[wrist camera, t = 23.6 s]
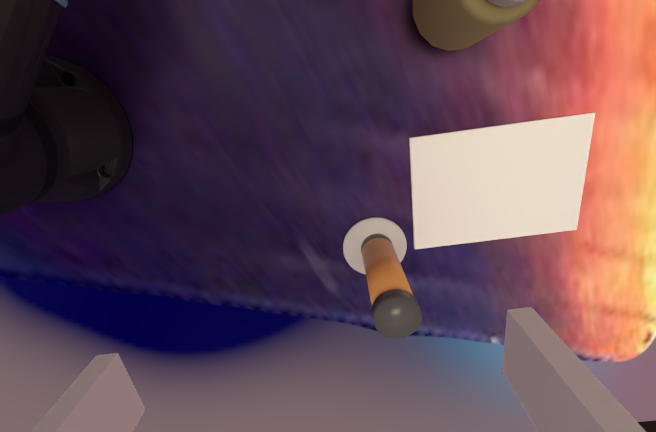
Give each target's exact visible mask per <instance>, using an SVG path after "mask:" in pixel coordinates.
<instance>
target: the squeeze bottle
mask: <svg viewBox="0 0 656 432" xmlns="http://www.w3.org/2000/svg"><path fill="white" fill-rule="evenodd" d="M538 1H539V0H413V18H414V20H415V23H416V25H417V28H418V30H419V33H420V35H422V36H423V37H424V38H425V39H426V40H427V41H428V42H429V43H430V44H431V45H432V46H434V47H437V48H440V49H444V50H447V51H453V50H460V49H466V48H468V47H470V46H471V45H473V44H475V43H477V42H479V41H480V40H482V39H484V38H486V37H488V36H489V35H491V34H493V33H495V32H496V31H498V30H500V29H502V28H504V27H505V26H507V25H509V24H511V23H512V22H514V21H516V20H517V19H519V18H521V17H523V16H524V15H526V14H528V13H529V12H530V11H531V9H532V8H533V7H534V6H535V5H536V4H537V2H538Z"/></svg>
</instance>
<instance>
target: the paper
mask: <svg viewBox="0 0 656 432" xmlns="http://www.w3.org/2000/svg"><path fill="white" fill-rule="evenodd" d="M594 118H595V113H594V112H591V113H584V114H577V115H570V116H563V117H555V118H548V119H541V120H534V121H527V122H519V123H512V124H505V125H498V126H491V127H483V128H476V129H469V130H462V131H455V132H447V133H440V134H433V135H426V136H418V137H411V138H409V150H410V172H411V195H412V217H413V240H414V249H422V248H430V247H438V246H447V245H455V244H463V243H471V242H480V241H488V240H496V239H504V238H512V237H521V236H529V235H537V234H545V233H554V232H562V231H570V230H577V224H578V218H579V212H580V205H581V199H582V193H583V187H584V181H585V174H586V168H587V162H588V156H589V149H590V143H591V137H592V131H593V124H594Z"/></svg>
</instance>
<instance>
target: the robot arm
mask: <svg viewBox="0 0 656 432" xmlns="http://www.w3.org/2000/svg"><path fill="white" fill-rule="evenodd" d="M67 4H68V0H0V216H3V215H5V214H8V213H10V212H13V211H15V210H18V209H20V208H22V207H25V206H27V205H30V204H32V203H46V202H72V201H80V200H85V199H88V198H91V197H94V196H96V195H98V194H101V193H103V192H105V191H107V190H109V189H111V188H112V187H114V186H115V185H116V184H117V183H118V182H119V181H120V180H121V179H122V178H123V177H124V175H125V174H126V172H127V170H128V168H129V165H130V162H131V158H132V151H133V141H132V134H131V129H130V125H129V122H128V120H127V117H126V115H125V113H124V111H123V109H122V107H121V105H120V104H119V102H118V100H117V99H116V98H115V96H114V95H113V94H112V92H111V91H110V90H109V89H108V88H107V87H106V86H105V85H104V84H103V83H102V82H101V81H100V80H99V79H98V78H97V77H95V76H94V75H93V74H92V73H90V72H89V71H87V70H86V69H84V68H82V67H80V66H79V65H77V64H75V63H72V62H70V61H67V60H64V59H61V58H57V57H52V56H45V54H46V52H47V49H48V46H49V43H50V41H51V38H52V35H53V33H54V30H55V27H56V24H57V22H58V19H59V16H60V13H61V11H62V8H63V7H65V8H66V7H67ZM502 374H503V375H504V377H505V379H506V380H507V382H508V384H509V385H510V387H511V389H512V390H513V392H514V394H515V395H516V397H517V398H518V400H519V402H520V403H521V405H522V407H523V408H524V410H525V412H526V413H527V415H528V417H529V418H530V420H531V422H532V423H533V425H534V426H535V428H536V430H537V431H538V432H656V421H646V422H637V421H636V420H635V419H633V417H632V416H631V415H630V414H629V413H628V411H626V409H625V408H624V407H623V406H622V405H621V404H620V403H619V402H618V401H617V400H616V398H615V397H614V396H613V395H612V394H611V393H610V392H609V391H608V390H607V389H606V388H605V387H604V385H603V384H602V383H601V382H600V381H599V380H598V379H597V378H596V377H595V376H594V375H593V373H592V372H591V371H590V370H589V369H588V368H587V367H586V366H585V365H584V364H583V363H582V361H581V360H580V359H579V358H578V357H577V356H576V355H575V354H574V353H573V352H572V351H571V350H570V348H569V347H568V346H567V345H566V344H565V343H564V342H563V341H562V340H561V339H560V338H559V336H558V335H557V334H556V333H555V332H554V331H553V330H552V329H551V328H550V327H549V326H548V325H547V323H546V322H545V321H544V320H543V319H542V318H541V317H540V316H539V315H538V314H537V313H536V311H535V310H534V309H533V308H532V307H529V308H520V309H511V310H507V320H506V332H505V345H504V358H503V369H502ZM144 411H145V408H144V406H143V404H142V402H141V399H140V398H139V396H138V393H137V391H136V390H135V387H134V385H133V383H132V381H131V379H130V377H129V375H128V373H127V371H126V369H125V367H124V365H123V363H122V361H121V359H120V357H119V355H118V353H114V354H105V355H97V356H96V357H95V358H94V359H93V360H92V361H91V362H90V364H89V365H88V366H87V367H86V368H85V369H84V371H83V372H82V373H81V374H80V375H79V376H78V378H77V379H76V380H75V381H74V382H73V384H72V385H71V386H70V387H69V388H68V389H67V390H66V392H65V393H64V394H63V395H62V396H61V397H60V399H59V400H58V401H57V402H56V403H55V404H54V406H53V407H52V408H51V409H50V410H49V411H48V413H47V414H46V415H45V416H44V417H43V418H42V420H41V421H40V422H39V423H38V424H37V426H36V427H35V428H34V429H33V430H32V431H31V432H133V430H134V429H135V427H136V425H137V423H138V421H139V420H140V418H141V416H142V414H143V412H144Z"/></svg>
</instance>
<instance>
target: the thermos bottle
mask: <svg viewBox="0 0 656 432" xmlns="http://www.w3.org/2000/svg"><path fill="white" fill-rule="evenodd" d="M361 253H362V258H363V263H364V268H365V273H366V278H367V283H368V288H369V293H370V298H371V303H372V314H373V319H374V324H375V327H376V329H377V330H378V331H379V332H380V333H381V334H383V335H384V336H386V337H390V338H403V337H406V336H409V335H411V334H412V333H414V332H415V331H416V330H417V329H418V328H419V326H420V324H421V322H422V313H421V310H420V308H419V306H418V303H417V301H416V299H415V297H414V296H413V294H412V291H411V289H410V286H409V284H408V281H407V279H406V276H405V274H404V271H403V269H402V266H401V264H400V261H399V259H398V256H397V254H396V252H395V249H394V247H393V244H392V242H391V240H390V239H389V238H388V237H387V236H386V235H383V234H372V235H370V236H368V237H366V238H365V239H364V241H363V242H362V245H361Z"/></svg>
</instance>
